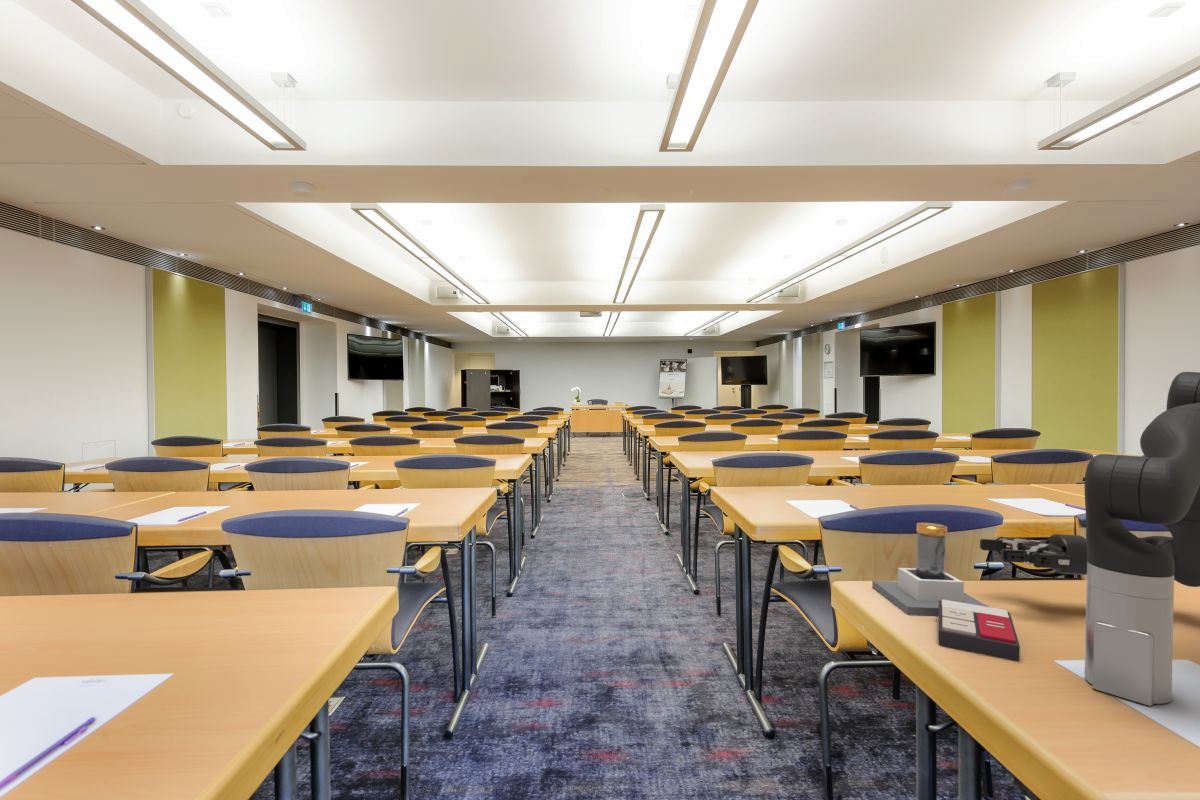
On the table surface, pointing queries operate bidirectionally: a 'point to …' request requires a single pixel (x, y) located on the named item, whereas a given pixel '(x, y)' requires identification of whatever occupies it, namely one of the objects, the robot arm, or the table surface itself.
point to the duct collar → (922, 592)
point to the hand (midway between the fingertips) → (990, 549)
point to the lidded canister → (931, 551)
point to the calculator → (977, 630)
